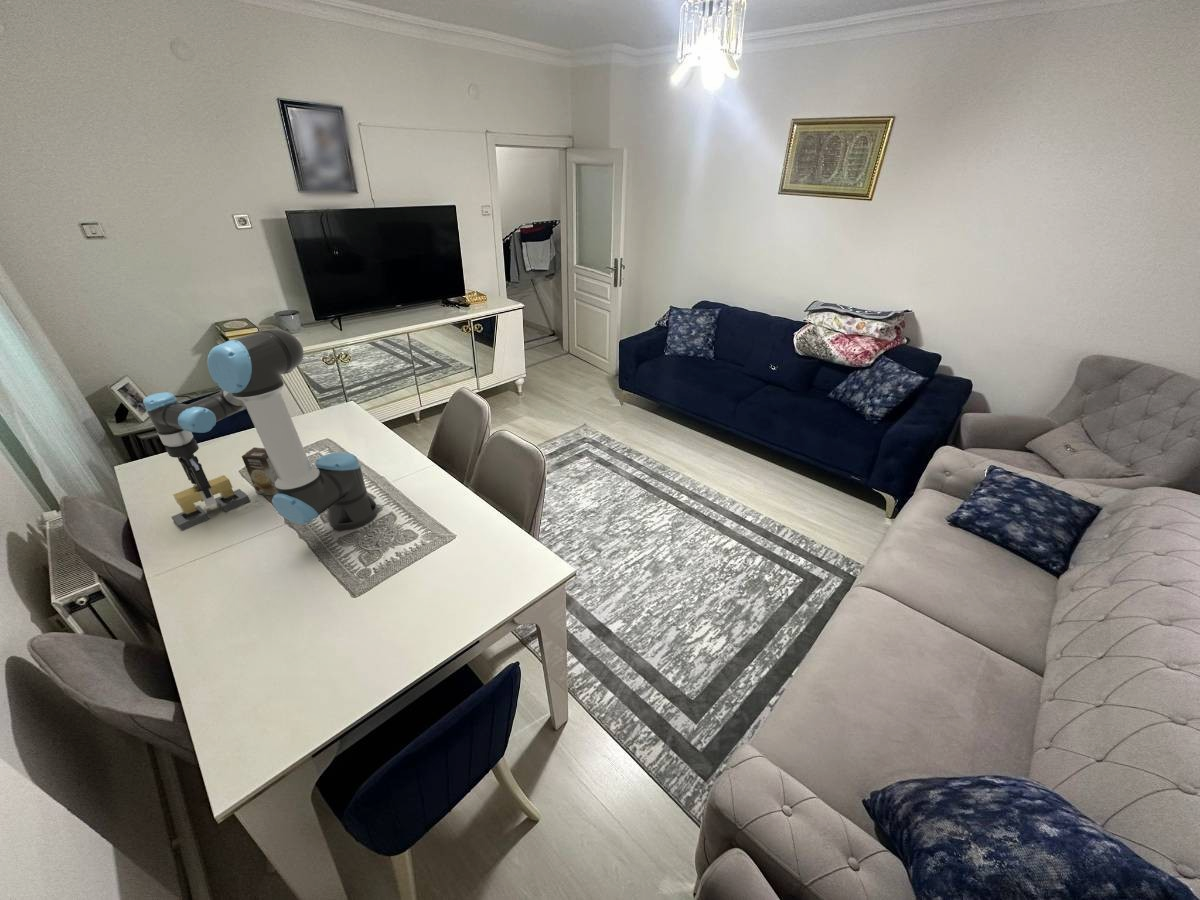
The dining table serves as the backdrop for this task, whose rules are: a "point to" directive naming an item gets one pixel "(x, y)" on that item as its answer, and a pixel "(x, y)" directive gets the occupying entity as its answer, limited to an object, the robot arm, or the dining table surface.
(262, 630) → the dining table surface
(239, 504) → the silver square rings
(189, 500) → the tall gold block
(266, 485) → the coffee box
